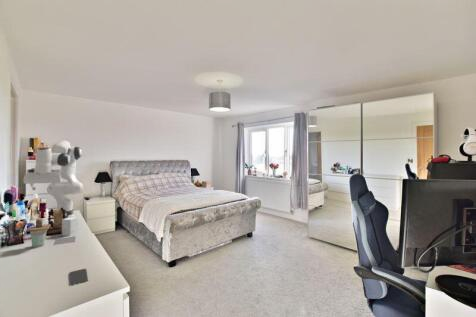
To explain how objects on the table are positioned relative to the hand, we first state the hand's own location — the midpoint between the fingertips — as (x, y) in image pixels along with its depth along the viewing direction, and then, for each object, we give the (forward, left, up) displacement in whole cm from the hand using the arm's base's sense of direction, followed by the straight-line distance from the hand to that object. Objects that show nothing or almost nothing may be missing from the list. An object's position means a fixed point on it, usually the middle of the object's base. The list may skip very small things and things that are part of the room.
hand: (42, 189), depth 158 cm
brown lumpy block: (-20, +7, -37) cm, 43 cm away
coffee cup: (+10, 0, -37) cm, 39 cm away
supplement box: (-10, +16, -37) cm, 42 cm away
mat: (+6, +14, -37) cm, 40 cm away
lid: (+10, 0, -25) cm, 27 cm away
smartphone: (+73, +23, -38) cm, 85 cm away
